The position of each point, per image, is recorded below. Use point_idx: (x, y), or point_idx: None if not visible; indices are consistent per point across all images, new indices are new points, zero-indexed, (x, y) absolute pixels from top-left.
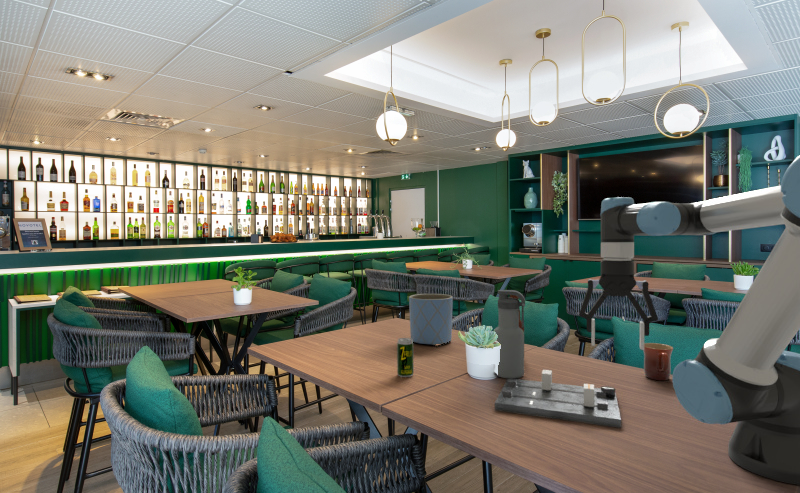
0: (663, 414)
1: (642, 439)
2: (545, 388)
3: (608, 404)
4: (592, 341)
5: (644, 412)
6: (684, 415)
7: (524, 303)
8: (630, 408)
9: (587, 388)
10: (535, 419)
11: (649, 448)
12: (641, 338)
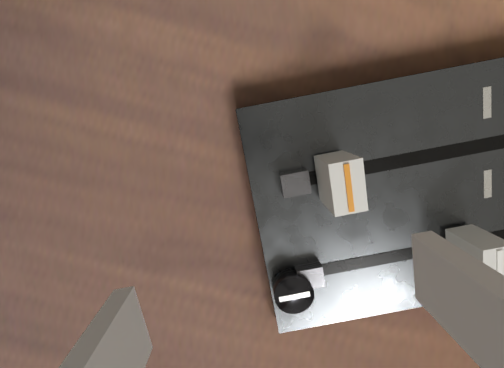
0: (155, 261)
1: (179, 60)
2: (464, 226)
3: (281, 209)
4: (445, 245)
5: (197, 250)
6: (111, 280)
7: None
8: (231, 259)
9: (350, 163)
10: (450, 41)
11: (156, 9)
12: (95, 341)
